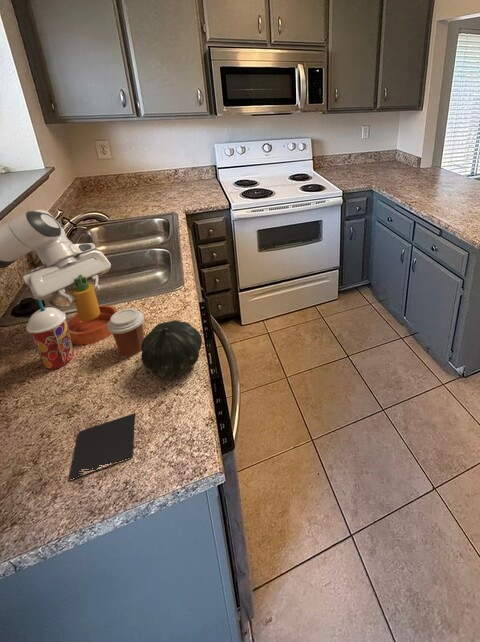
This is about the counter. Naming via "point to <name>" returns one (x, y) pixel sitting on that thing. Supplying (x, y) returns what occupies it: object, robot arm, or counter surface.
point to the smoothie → (51, 336)
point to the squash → (171, 348)
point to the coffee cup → (127, 331)
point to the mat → (104, 444)
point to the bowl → (90, 327)
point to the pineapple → (85, 299)
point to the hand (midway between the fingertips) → (85, 296)
